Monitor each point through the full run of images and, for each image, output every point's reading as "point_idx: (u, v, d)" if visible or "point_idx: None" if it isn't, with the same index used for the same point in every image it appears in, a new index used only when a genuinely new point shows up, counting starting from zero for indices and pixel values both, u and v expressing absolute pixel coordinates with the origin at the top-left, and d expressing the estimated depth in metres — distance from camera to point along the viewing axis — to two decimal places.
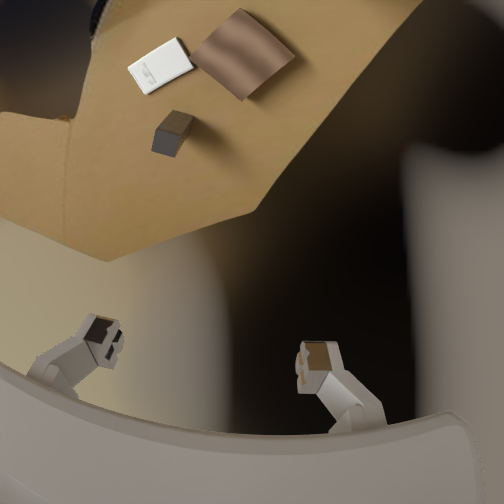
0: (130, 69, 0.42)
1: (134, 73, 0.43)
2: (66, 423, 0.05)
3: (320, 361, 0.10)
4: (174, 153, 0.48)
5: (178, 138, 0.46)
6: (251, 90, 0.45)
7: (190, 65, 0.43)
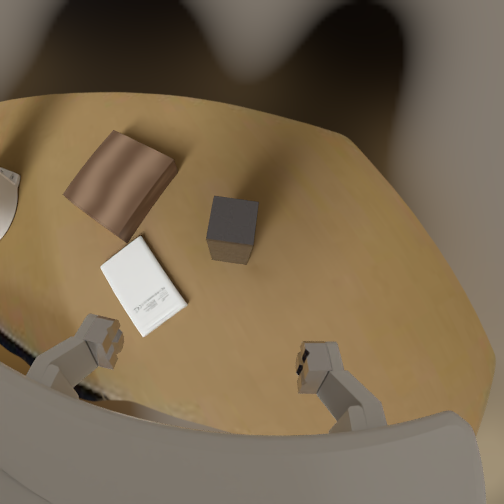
0: (144, 331, 0.35)
1: (151, 324, 0.35)
2: (66, 423, 0.05)
3: (320, 361, 0.10)
4: (250, 202, 0.30)
5: (218, 198, 0.30)
6: (157, 153, 0.38)
7: (136, 240, 0.38)
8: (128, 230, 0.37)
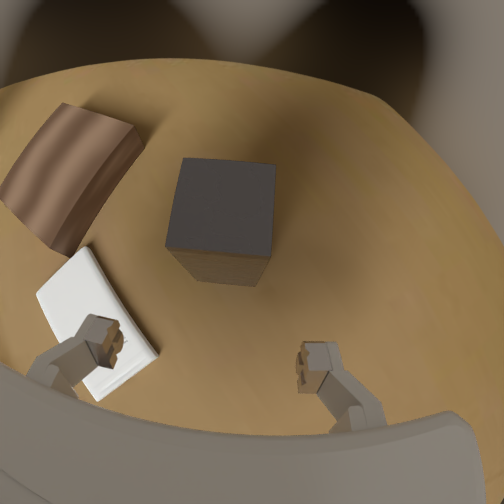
0: (98, 394, 0.19)
1: (105, 385, 0.19)
2: (66, 423, 0.05)
3: (320, 361, 0.10)
4: (258, 166, 0.14)
5: (193, 161, 0.14)
6: (112, 120, 0.22)
7: (79, 252, 0.22)
8: (68, 238, 0.21)
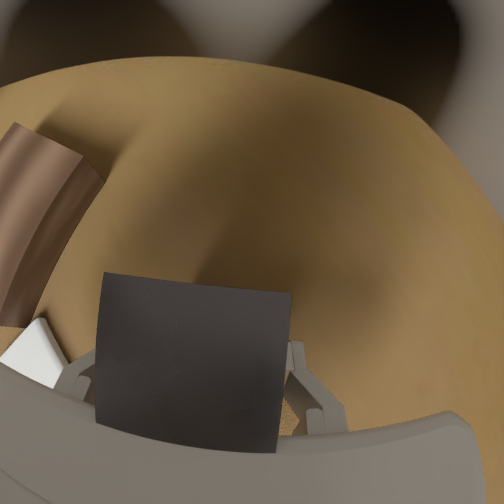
0: None
1: None
2: (66, 423, 0.05)
3: None
4: (254, 299, 0.07)
5: (121, 283, 0.06)
6: (59, 149, 0.15)
7: (32, 325, 0.15)
8: (17, 310, 0.14)
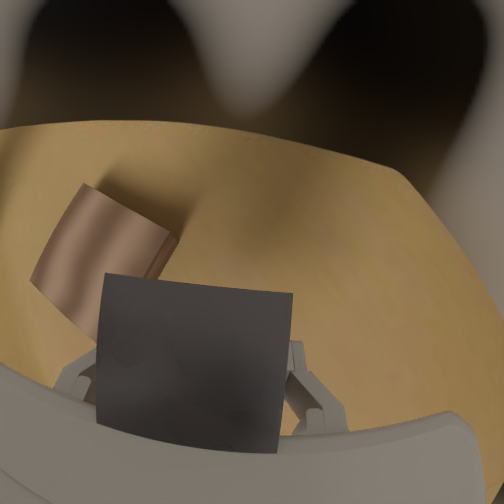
0: None
1: None
2: (66, 423, 0.05)
3: None
4: (255, 299, 0.07)
5: (122, 283, 0.06)
6: (145, 221, 0.27)
7: None
8: None
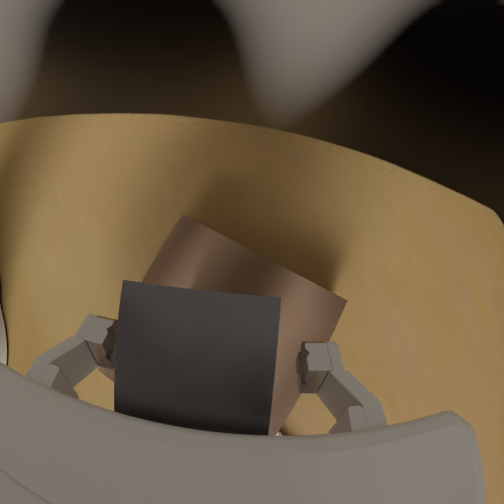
0: None
1: None
2: (66, 423, 0.05)
3: (320, 361, 0.10)
4: (249, 302, 0.08)
5: (138, 289, 0.08)
6: (310, 286, 0.19)
7: None
8: None
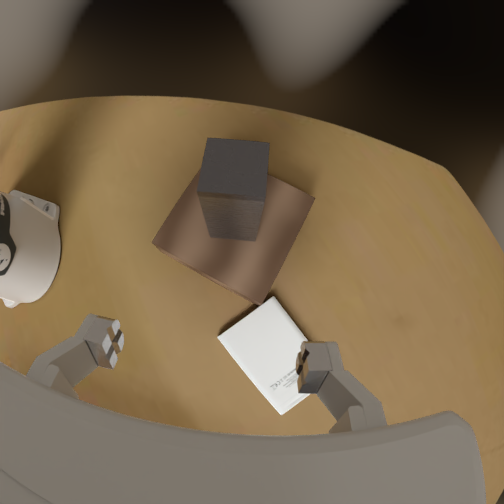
0: (284, 409, 0.28)
1: (292, 400, 0.28)
2: (66, 423, 0.05)
3: (320, 361, 0.10)
4: (257, 143, 0.20)
5: (214, 140, 0.20)
6: (291, 188, 0.32)
7: (269, 301, 0.31)
8: None
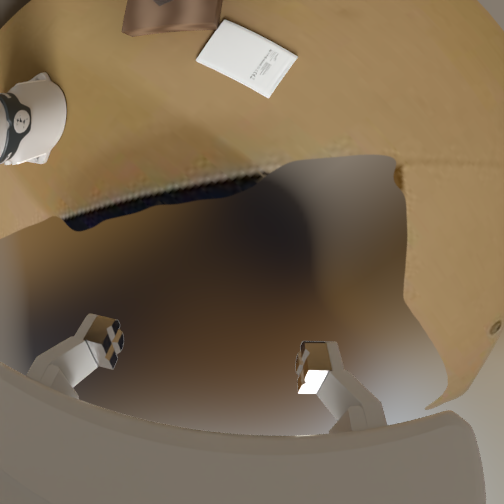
0: (269, 92, 0.34)
1: (272, 83, 0.33)
2: (66, 423, 0.05)
3: (320, 361, 0.10)
4: None
5: None
6: None
7: (223, 23, 0.28)
8: (217, 17, 0.27)
